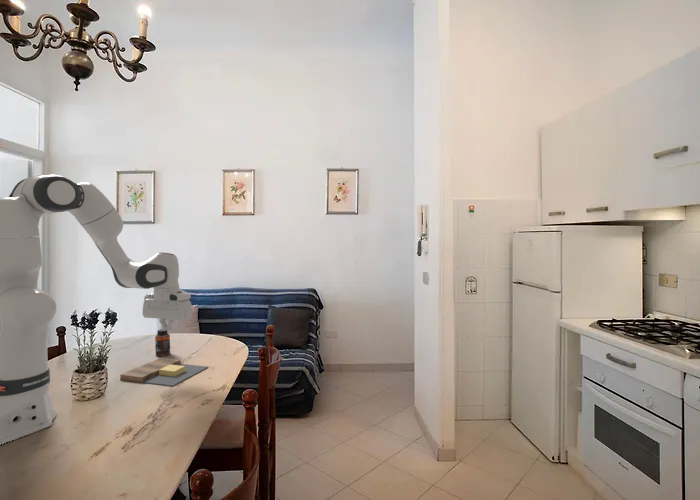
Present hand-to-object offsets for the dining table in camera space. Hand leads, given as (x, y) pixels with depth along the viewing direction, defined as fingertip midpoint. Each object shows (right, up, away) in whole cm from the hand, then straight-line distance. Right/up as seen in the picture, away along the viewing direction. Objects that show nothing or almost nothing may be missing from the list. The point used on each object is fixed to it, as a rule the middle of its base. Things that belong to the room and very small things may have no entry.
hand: (167, 330), depth 145 cm
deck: (-7, -17, +3) cm, 19 cm away
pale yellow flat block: (+2, -17, +1) cm, 17 cm away
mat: (+4, -17, 0) cm, 18 cm away
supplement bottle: (-14, -16, +24) cm, 32 cm away
